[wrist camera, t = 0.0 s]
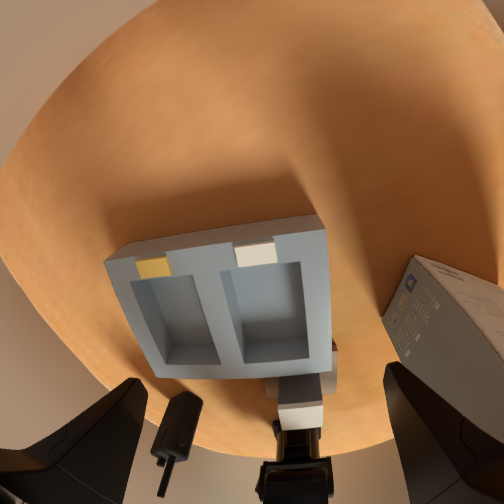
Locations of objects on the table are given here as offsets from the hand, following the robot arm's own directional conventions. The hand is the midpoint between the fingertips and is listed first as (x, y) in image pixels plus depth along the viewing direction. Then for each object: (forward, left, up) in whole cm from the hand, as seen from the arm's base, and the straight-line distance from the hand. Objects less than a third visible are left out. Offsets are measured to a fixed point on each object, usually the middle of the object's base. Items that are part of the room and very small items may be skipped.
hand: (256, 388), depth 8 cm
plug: (-15, -1, -14) cm, 21 cm away
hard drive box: (-9, -18, -15) cm, 25 cm away
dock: (-5, +4, -15) cm, 16 cm away
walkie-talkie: (-20, +14, -15) cm, 29 cm away
